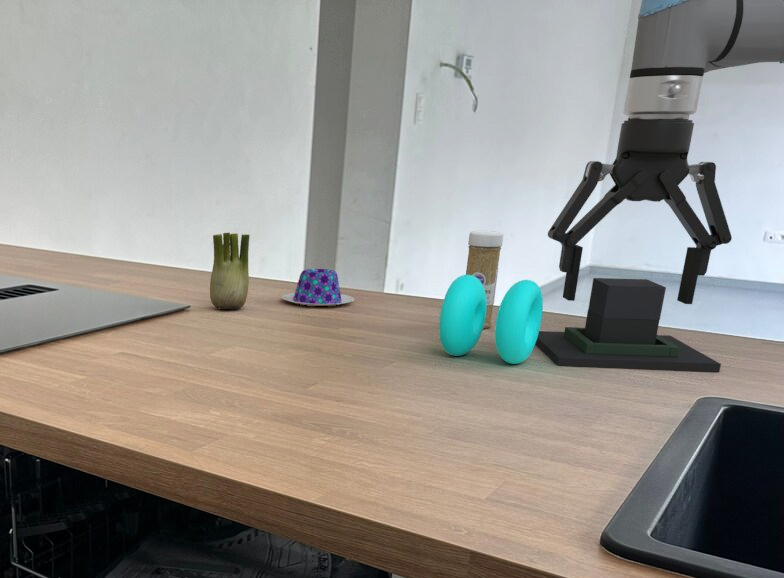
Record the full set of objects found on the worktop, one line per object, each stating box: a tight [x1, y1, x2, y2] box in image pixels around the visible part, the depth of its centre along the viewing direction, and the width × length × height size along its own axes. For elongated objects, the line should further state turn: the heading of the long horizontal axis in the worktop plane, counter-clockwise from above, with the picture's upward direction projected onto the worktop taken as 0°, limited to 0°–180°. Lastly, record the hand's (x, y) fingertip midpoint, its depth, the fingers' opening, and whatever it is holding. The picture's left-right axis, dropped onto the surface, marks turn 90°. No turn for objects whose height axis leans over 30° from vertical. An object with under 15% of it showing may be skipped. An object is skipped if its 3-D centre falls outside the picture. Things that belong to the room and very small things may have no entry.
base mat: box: [535, 326, 722, 373], centre depth 109 cm, size 18×16×2 cm
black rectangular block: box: [584, 308, 660, 345], centre depth 108 cm, size 6×6×4 cm
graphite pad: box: [587, 277, 667, 321], centre depth 107 cm, size 6×6×4 cm
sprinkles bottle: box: [465, 230, 504, 329], centre depth 123 cm, size 5×5×13 cm
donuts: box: [438, 274, 544, 365], centre depth 104 cm, size 10×10×10 cm
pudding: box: [281, 268, 355, 307], centre depth 143 cm, size 12×12×5 cm
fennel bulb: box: [209, 232, 250, 310], centre depth 135 cm, size 6×5×12 cm
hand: (625, 300), depth 107 cm, fingers open, 13 cm apart
